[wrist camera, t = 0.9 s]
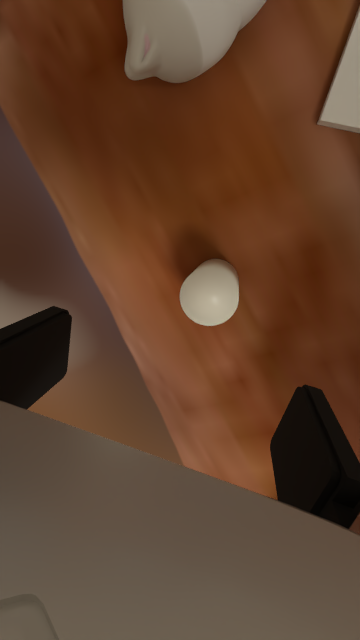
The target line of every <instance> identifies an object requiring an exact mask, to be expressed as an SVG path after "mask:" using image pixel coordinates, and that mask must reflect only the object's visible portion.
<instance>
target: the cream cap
mask: <svg viewBox="0 0 360 640" xmlns="http://www.w3.org/2000/svg"><path fill="white" fill-rule="evenodd" d="M238 302H239V279H238V274H237V272H236V270H235V268H234V267H233V266H232V265H231V264H230V263H228V262H227V261H225V260H222V259H210V260H207V261H205V262H203V263H202V264H200V265H199V266H198V267H197V268H196V269H195V270H194V271H193V272H192V273H191V274H190V275H189V276H188V277H187V278H186V280H185V281H184V283H183V285H182V287H181V290H180V303H181V306H182V309H183V311H184V312H185V314H186V315H187V316H188V317H189V318H190V319H191V320H193V321H194V322H196V323H198V324H201V325H206V326H213V325H218V324H221V323H223V322H225V321H227V320H228V319H229V318H230V317H231V316H232V315H233V314H234V312H235V311H236V309H237V306H238Z"/></svg>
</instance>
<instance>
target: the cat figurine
mask: <svg viewBox="0 0 360 640" xmlns="http://www.w3.org/2000/svg"><path fill="white" fill-rule="evenodd" d="M265 2H266V0H123V14H124V22H125V27H126V32H127V37H128V46H127V52H126V58H125V73H126V75H127V77H128V78H129V79H131V80H141V79H145V78H149V77H154V76H156V77H158V78H160V79H162V80H164V81H167V82H171V83H182V82H186V81H189V80H192V79H194V78H196V77H197V76H199V75H201V74H202V73H204V72H205V71H207V70H208V69H210V68H211V67H212V66H214V65H215V64H216V63H217V62H218V61H220V60H221V58H222V57H223V56H224V55H225V54H226V52H227V51H228V50H229V48H230V46H231V45H232V43H233V41H234V39H235V37H236V35H237V33H238V31H239V30H241V29H242V28H243V27H244V26H245V25H247V24H248V23H249V22H250V21H251V20H252V19H253V17H254V16H255V15H256V14H257V13H258V12H259V10H260V9H261V8H262V6H263V5H264V3H265Z"/></svg>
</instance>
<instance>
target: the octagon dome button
mask: <svg viewBox="0 0 360 640" xmlns="http://www.w3.org/2000/svg"><path fill="white" fill-rule="evenodd" d="M317 124H318V125H322V126H327V127H332V128H337V129H342V130H346V131H351V132H356V133H360V6H359V8H358V11H357V14H356V17H355V19H354V22H353V25H352V28H351V31H350V33H349V36H348V39H347V42H346V44H345V47H344V50H343V53H342V56H341V58H340V61H339V64H338V67H337V69H336V72H335V75H334V78H333V81H332V83H331V86H330V89H329V92H328V94H327V97H326V100H325V103H324V106H323V108H322V111H321V114H320V117H319V120H318V122H317Z"/></svg>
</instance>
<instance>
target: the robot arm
mask: <svg viewBox="0 0 360 640" xmlns="http://www.w3.org/2000/svg"><path fill="white" fill-rule="evenodd" d="M71 322H72V317H71V315H69V312H68V311H67V310H65V309H61V308H58V307H55V306H52V307H50V308H48V309H45V310H43V311H41V312H38V313H36V314H34V315H32V316H29V317H27V318H25V319H22V320H20V321H18V322H16V323H13V324H11V325H8V326H6V327H4V328H1V329H0V640H360V463H359V461H358V459H357V457H356V455H355V453H354V451H353V449H352V447H351V445H350V444H349V442H348V440H347V438H346V436H345V434H344V432H343V430H342V428H341V426H340V424H339V422H338V420H337V418H336V417H335V415H334V413H333V411H332V409H331V407H330V405H329V403H328V401H327V399H326V397H325V395H324V393H323V391H322V390H321V389H318V388H315V387H311V386H308V385H303V386H302V387H297V389H296V390H295V392H294V394H293V396H292V398H291V401H290V403H289V405H288V407H287V409H286V411H285V413H284V415H283V417H282V419H281V421H280V423H279V425H278V427H277V429H276V431H275V433H274V435H273V437H272V440H271V444H270V450H271V457H272V464H273V470H274V477H275V484H276V490H277V497H278V500H275V499H272V498H269V497H267V496H264V495H261V494H259V493H256V492H253V491H250V490H248V489H245V488H242V487H239V486H237V485H234V484H231V483H229V482H226V481H223V480H220V479H218V478H215V477H212V476H209V475H207V474H204V473H201V472H198V471H196V470H193V469H190V468H187V467H185V466H182V465H179V464H176V463H173V462H171V461H168V460H165V459H162V458H160V457H157V456H154V455H151V454H148V453H146V452H143V451H140V450H137V449H135V448H132V447H129V446H126V445H123V444H121V443H118V442H115V441H112V440H109V439H107V438H104V437H101V436H98V435H96V434H93V433H90V432H87V431H85V430H82V429H79V428H76V427H73V426H71V425H68V424H65V423H62V422H60V421H57V420H54V419H51V418H48V417H45V416H43V415H40V414H37V413H34V412H31V411H29V410H27V409H28V408H29V407H30V406H31V405H32V404H34V403H35V402H36V401H37V400H38V399H39V398H40V397H42V396H43V395H44V394H45V393H46V392H47V391H49V390H50V389H51V388H52V387H53V386H54V385H55V384H57V383H58V382H59V381H60V380H61V379H62V378H63V377H64V376H65V374H66V372H67V365H68V353H69V344H70V333H71Z"/></svg>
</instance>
